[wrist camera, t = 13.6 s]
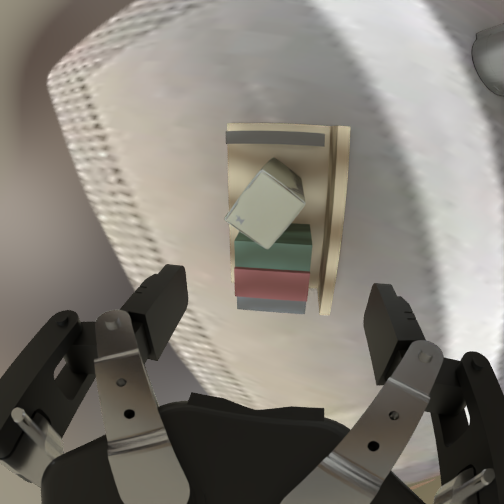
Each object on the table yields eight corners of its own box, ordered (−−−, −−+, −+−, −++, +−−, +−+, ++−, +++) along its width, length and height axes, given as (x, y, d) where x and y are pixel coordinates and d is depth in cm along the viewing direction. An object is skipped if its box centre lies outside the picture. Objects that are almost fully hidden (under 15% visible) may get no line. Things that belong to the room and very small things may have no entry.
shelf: (230, 123, 32) (209, 122, 24) (338, 127, 30) (352, 126, 22) (233, 277, 41) (219, 312, 33) (325, 283, 39) (330, 320, 31)
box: (276, 209, 34) (265, 255, 22) (247, 188, 33) (220, 222, 22) (303, 176, 32) (308, 204, 20) (273, 153, 31) (260, 167, 20)
